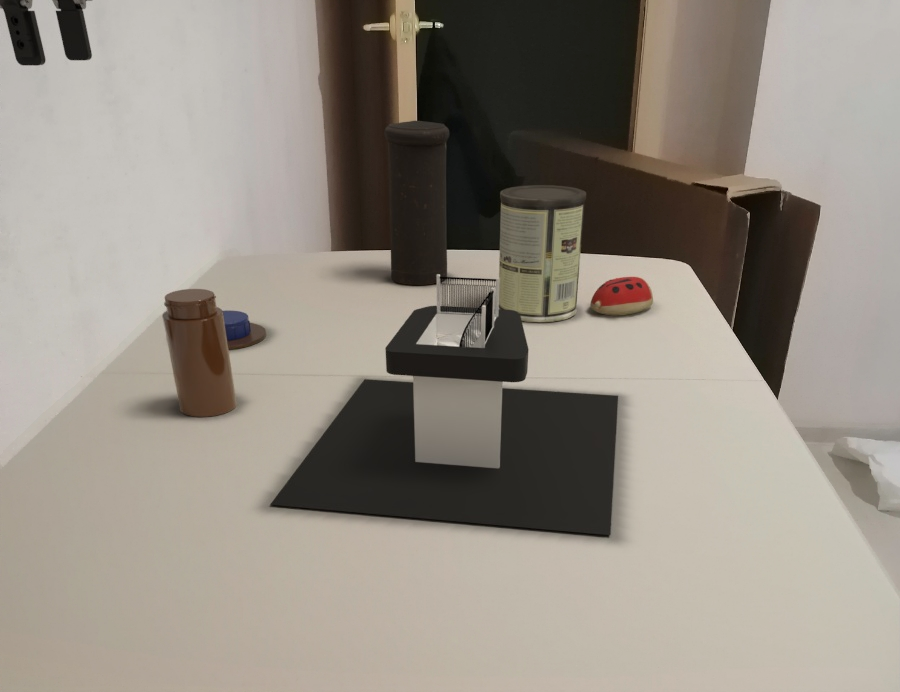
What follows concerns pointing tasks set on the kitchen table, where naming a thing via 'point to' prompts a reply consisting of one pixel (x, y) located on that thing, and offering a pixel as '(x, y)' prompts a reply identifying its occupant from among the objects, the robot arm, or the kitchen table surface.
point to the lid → (236, 324)
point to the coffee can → (540, 251)
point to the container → (417, 201)
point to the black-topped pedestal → (464, 432)
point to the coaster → (248, 338)
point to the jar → (199, 353)
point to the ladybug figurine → (622, 296)
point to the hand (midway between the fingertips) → (57, 62)
